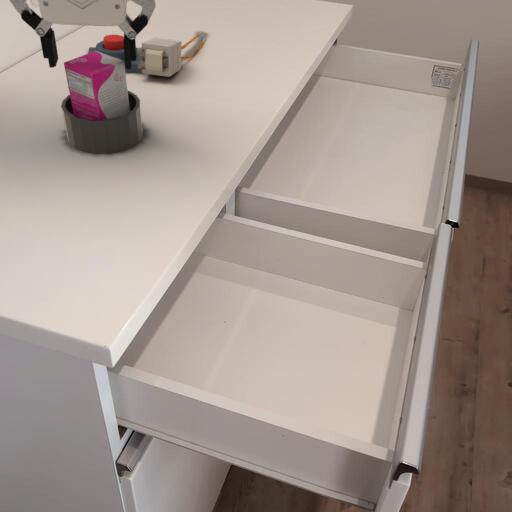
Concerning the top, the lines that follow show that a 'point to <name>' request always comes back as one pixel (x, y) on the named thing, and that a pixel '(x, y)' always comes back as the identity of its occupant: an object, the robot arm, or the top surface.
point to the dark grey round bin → (104, 129)
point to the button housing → (118, 56)
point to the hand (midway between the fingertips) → (91, 64)
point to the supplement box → (97, 86)
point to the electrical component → (162, 56)
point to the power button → (113, 42)
